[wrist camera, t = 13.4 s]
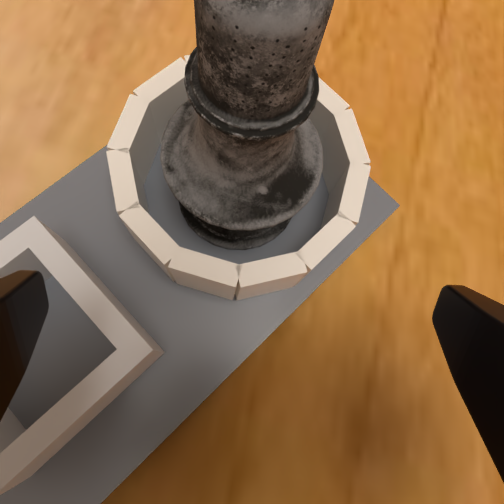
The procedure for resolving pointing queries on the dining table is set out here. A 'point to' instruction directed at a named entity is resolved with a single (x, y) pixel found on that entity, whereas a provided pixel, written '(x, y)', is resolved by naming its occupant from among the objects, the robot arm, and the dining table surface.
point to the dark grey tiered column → (247, 120)
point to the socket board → (155, 297)
